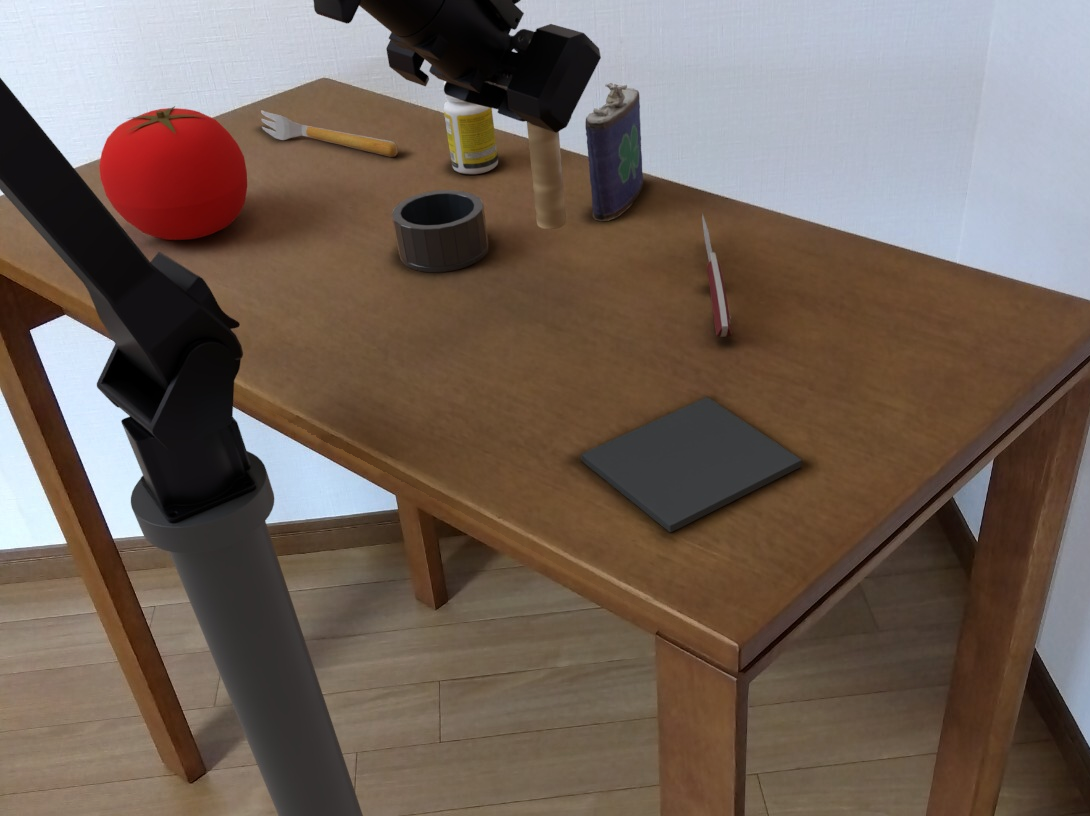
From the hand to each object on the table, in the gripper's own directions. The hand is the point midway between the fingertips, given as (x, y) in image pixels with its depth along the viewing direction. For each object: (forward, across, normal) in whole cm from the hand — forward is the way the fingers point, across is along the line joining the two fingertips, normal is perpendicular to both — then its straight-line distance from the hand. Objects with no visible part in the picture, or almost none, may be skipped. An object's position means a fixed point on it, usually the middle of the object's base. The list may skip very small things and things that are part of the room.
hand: (556, 117), depth 88 cm
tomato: (-2, +36, +22) cm, 42 cm away
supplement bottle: (+17, +26, +2) cm, 31 cm away
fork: (+12, +44, +7) cm, 46 cm away
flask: (+19, +8, 0) cm, 21 cm away
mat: (+1, -26, +18) cm, 32 cm away
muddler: (+5, 0, +7) cm, 8 cm away
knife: (+15, -10, +5) cm, 18 cm away
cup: (+7, +13, +12) cm, 19 cm away
